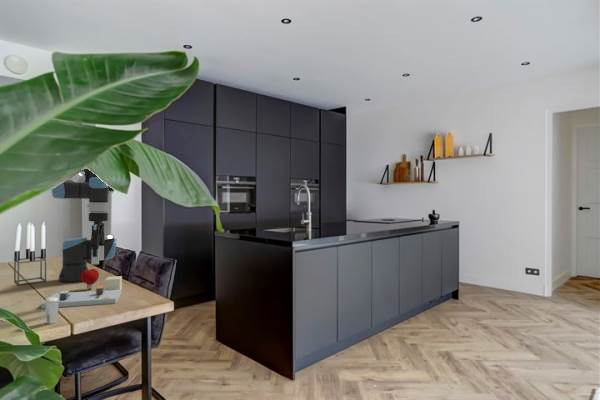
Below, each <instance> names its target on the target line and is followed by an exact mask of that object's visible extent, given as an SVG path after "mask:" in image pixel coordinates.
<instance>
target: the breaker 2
mask: <svg viewBox="0 0 600 400" xmlns="http://www.w3.org/2000/svg"><path fill="white" fill-rule="evenodd" d="M104 287H105V285H97V287H96V290H95V291H96V295H99V294H103V293H104V290H105V288H104Z"/></svg>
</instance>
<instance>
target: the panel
mask: <svg viewBox="0 0 600 400" xmlns="http://www.w3.org/2000/svg"><path fill="white" fill-rule="evenodd" d="M121 295H122V290H121V289H120V290H105V289H104V293H103V294H99V295H96V290H89V291H88V290H87V291H76V292H72V291H71V292H68V298H67V299H66V300H60V298H59V296H60V292H59V293H56V292H55V293H53V294H51V295H50V296H49V297H48V298H54V297H56V298H58V299H59V307H58V308H66V307H67V308H68V307H69V308H70V307H81V306H93V305H95V306H96V305H108V304H109V305H110V304H117V302H118V300H119V298H120V296H121ZM40 309H45V300H44V301H42V302H41V303H40Z"/></svg>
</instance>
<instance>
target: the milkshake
mask: <svg viewBox="0 0 600 400" xmlns="http://www.w3.org/2000/svg"><path fill="white" fill-rule="evenodd" d="M59 298H60V296H59ZM44 301H45V308H44V311H45V313H44V314H45V323H46V324H47V325H51V324H56V323H57V322H58V316H59V315H58V314H59V308H60V307H59V299H58V298H56V297H54V298H49V297H48V298H46V299H45V300H44Z"/></svg>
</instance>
